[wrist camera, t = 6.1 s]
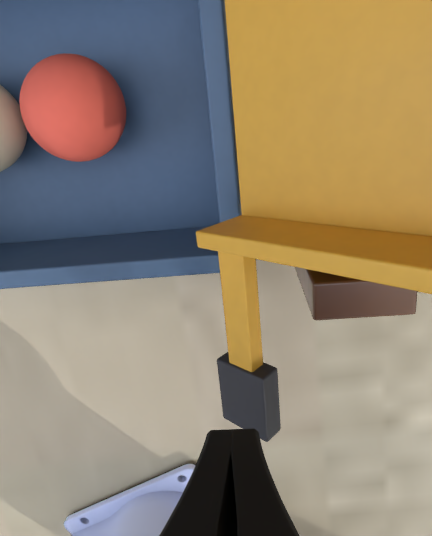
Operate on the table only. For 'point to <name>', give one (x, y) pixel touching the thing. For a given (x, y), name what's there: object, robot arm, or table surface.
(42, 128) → the ball coral
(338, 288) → the dish stand
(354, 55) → the yellow tray
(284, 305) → the table surface
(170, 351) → the table surface
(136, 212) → the bin
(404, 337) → the table surface
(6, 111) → the ball cream
